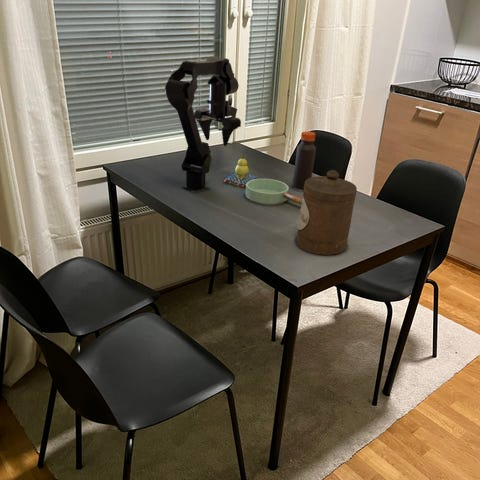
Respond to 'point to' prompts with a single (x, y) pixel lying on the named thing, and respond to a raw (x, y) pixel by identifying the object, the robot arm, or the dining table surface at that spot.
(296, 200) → the pan handle
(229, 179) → the woven mat
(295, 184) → the bottle
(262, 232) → the dining table surface
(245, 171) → the pear
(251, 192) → the pan
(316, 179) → the wooden container
